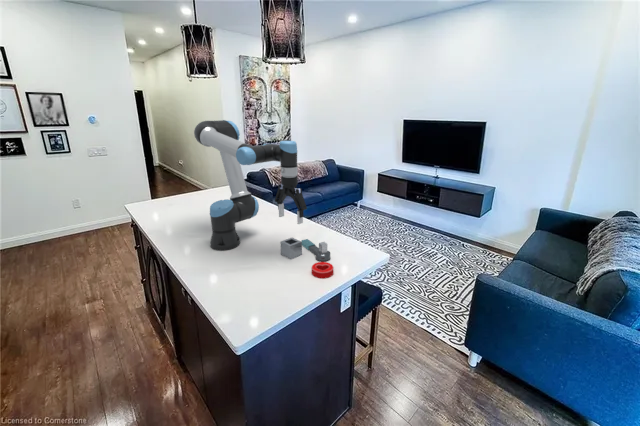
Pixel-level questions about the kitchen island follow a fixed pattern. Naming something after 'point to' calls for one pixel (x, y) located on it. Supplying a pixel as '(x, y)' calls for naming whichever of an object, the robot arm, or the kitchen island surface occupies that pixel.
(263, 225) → the kitchen island surface
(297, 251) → the hollow square tube
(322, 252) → the ratchet
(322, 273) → the decorative ornament
